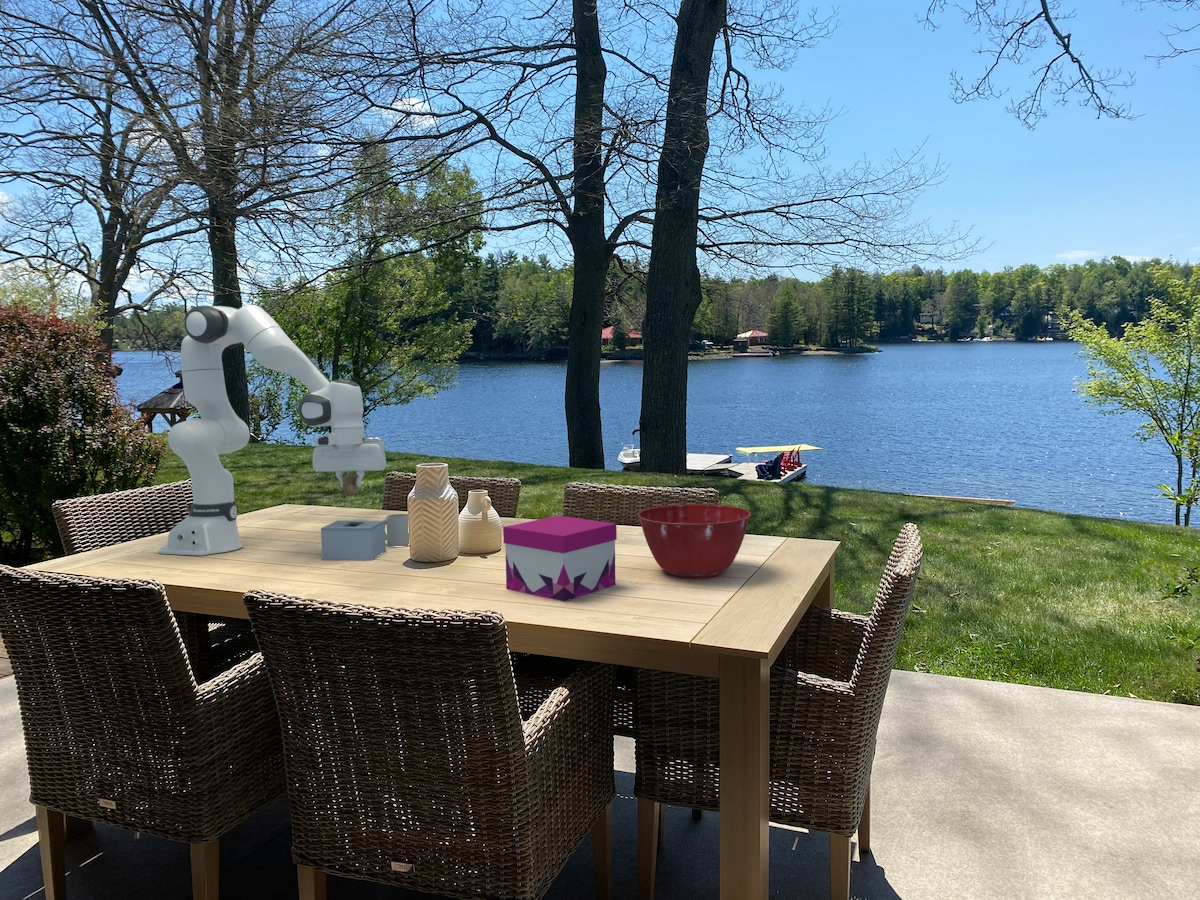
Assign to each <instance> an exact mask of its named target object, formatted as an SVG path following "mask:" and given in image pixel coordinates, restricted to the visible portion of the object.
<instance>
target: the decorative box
mask: <svg viewBox="0 0 1200 900" xmlns="http://www.w3.org/2000/svg"><path fill="white" fill-rule="evenodd" d="M502 530H503V533H502V534H503V537H502V538H503V544H504V546H505V578H506V579H505V581H506V582H505V583H506V590H509V591H515V592H519V593H524V594H528V595H532V596H537V597H542V598H547V599H551V600H555V601H560V602H567V601H570V600H573V599H577V598H580V597H582V596H586V595H589V594H592V593H595V592H597V591H600V590H604V589H607V588H610V587H613V586H616V540H617V538H618V537H617V536H618V535H617V532H618V531H617V523H616V522H615V523H613V522H605V521H601V520H600V521H599V520H593V519H587V518H586V519H585V518H578V517H570V516H569V517H568V516H563V515H554V516H550V517H545V518H540V519H534V520H531V521H526V522H520V523H517V524H511V525H507V526H506V525H505V526H503V529H502Z"/></svg>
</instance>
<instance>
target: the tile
mask: <svg viewBox="0 0 1200 900" xmlns="http://www.w3.org/2000/svg"><path fill="white" fill-rule="evenodd" d="M358 476H359V475H357V474H350V475H347V476H343V487H342V491H343V496H354V495H356V494H359V487H354V481H356V480H357V478H358Z"/></svg>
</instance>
